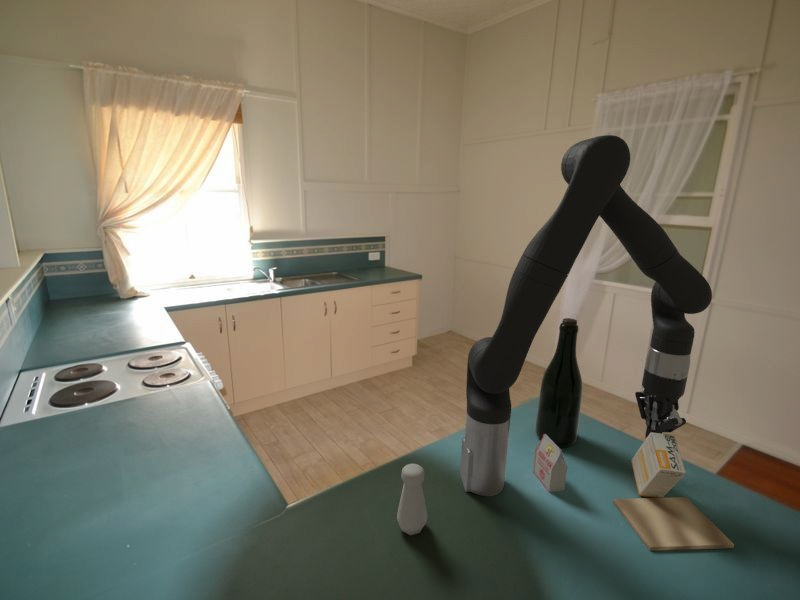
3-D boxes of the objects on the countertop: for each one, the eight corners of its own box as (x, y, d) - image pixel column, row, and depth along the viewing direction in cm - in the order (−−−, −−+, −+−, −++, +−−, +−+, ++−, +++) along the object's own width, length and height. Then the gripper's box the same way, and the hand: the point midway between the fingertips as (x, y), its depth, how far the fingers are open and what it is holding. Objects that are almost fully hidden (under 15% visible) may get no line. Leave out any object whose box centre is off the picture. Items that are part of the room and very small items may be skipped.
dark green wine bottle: (564, 453, 101) (581, 328, 93) (527, 435, 108) (539, 318, 100) (583, 438, 108) (600, 320, 100) (546, 421, 115) (559, 311, 107)
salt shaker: (430, 520, 79) (432, 462, 76) (422, 542, 74) (424, 482, 71) (402, 512, 81) (403, 456, 78) (392, 533, 76) (393, 474, 73)
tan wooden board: (649, 550, 73) (650, 547, 73) (612, 502, 85) (613, 499, 85) (733, 547, 74) (734, 544, 74) (685, 500, 86) (686, 497, 86)
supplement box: (662, 499, 86) (688, 474, 77) (638, 496, 87) (660, 470, 78) (653, 462, 92) (675, 434, 83) (630, 459, 93) (650, 431, 83)
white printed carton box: (547, 470, 95) (552, 432, 92) (564, 490, 88) (569, 450, 86) (533, 472, 94) (537, 434, 91) (548, 492, 88) (553, 452, 85)
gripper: (629, 357, 90) (617, 426, 94) (671, 384, 77) (656, 463, 81) (661, 357, 90) (648, 426, 94) (708, 383, 77) (691, 462, 82)
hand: (651, 443), depth 88 cm, fingers closed
